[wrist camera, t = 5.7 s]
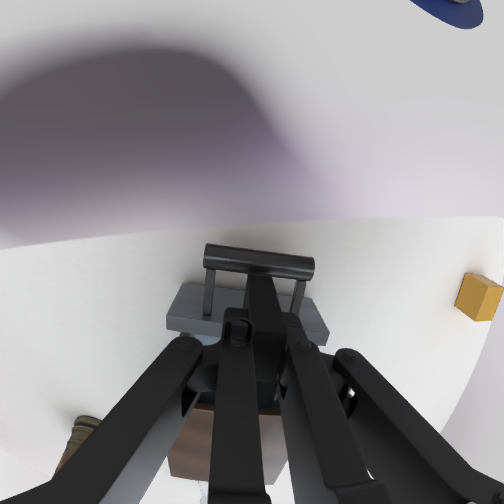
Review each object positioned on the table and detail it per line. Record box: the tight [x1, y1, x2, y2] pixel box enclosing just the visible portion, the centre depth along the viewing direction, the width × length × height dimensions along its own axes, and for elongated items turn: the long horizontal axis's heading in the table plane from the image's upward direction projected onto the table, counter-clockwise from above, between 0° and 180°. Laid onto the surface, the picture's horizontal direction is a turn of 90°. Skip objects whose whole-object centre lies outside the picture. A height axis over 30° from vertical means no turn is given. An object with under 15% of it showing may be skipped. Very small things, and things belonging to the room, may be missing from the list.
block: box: [454, 273, 504, 321], centre depth 24 cm, size 4×4×4 cm
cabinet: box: [167, 403, 288, 485], centre depth 25 cm, size 16×13×8 cm
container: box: [52, 416, 101, 478], centre depth 22 cm, size 9×9×18 cm
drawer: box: [166, 243, 330, 410], centre depth 22 cm, size 20×11×6 cm, turn 172°
